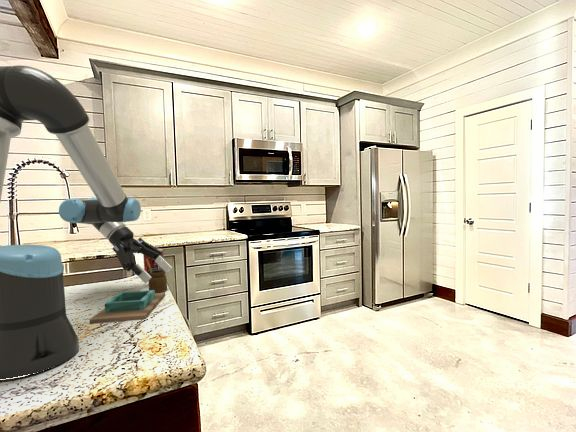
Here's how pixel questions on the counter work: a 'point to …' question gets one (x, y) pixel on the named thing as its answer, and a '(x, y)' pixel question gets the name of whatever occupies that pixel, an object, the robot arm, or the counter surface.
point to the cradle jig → (129, 306)
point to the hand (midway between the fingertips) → (159, 275)
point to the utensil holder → (157, 279)
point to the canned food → (151, 263)
